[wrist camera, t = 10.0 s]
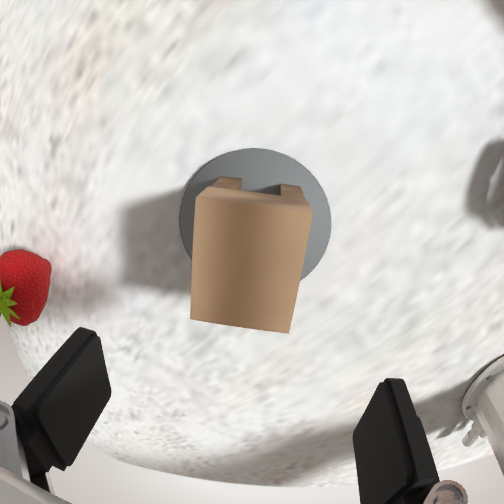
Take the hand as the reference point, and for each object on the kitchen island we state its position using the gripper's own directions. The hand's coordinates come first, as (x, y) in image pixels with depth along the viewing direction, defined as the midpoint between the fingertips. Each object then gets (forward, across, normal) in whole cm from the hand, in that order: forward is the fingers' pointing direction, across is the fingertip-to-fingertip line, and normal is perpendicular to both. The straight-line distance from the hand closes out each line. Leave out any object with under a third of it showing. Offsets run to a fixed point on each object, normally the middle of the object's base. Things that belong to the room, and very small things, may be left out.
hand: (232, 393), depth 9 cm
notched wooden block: (+17, +1, 0) cm, 17 cm away
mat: (+17, +1, 0) cm, 17 cm away
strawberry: (+17, +22, +6) cm, 28 cm away
